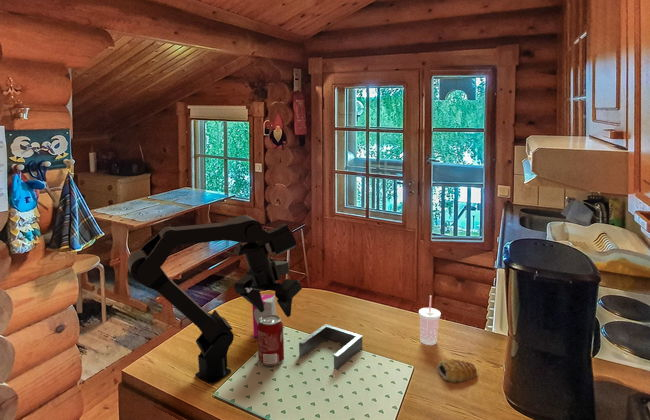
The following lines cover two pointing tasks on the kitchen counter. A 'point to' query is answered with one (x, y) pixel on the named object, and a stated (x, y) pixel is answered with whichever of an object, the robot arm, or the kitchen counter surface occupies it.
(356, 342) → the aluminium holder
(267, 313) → the supplement box
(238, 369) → the kitchen counter surface
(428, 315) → the beverage cup
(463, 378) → the pastry
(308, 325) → the kitchen counter surface
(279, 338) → the soda can
